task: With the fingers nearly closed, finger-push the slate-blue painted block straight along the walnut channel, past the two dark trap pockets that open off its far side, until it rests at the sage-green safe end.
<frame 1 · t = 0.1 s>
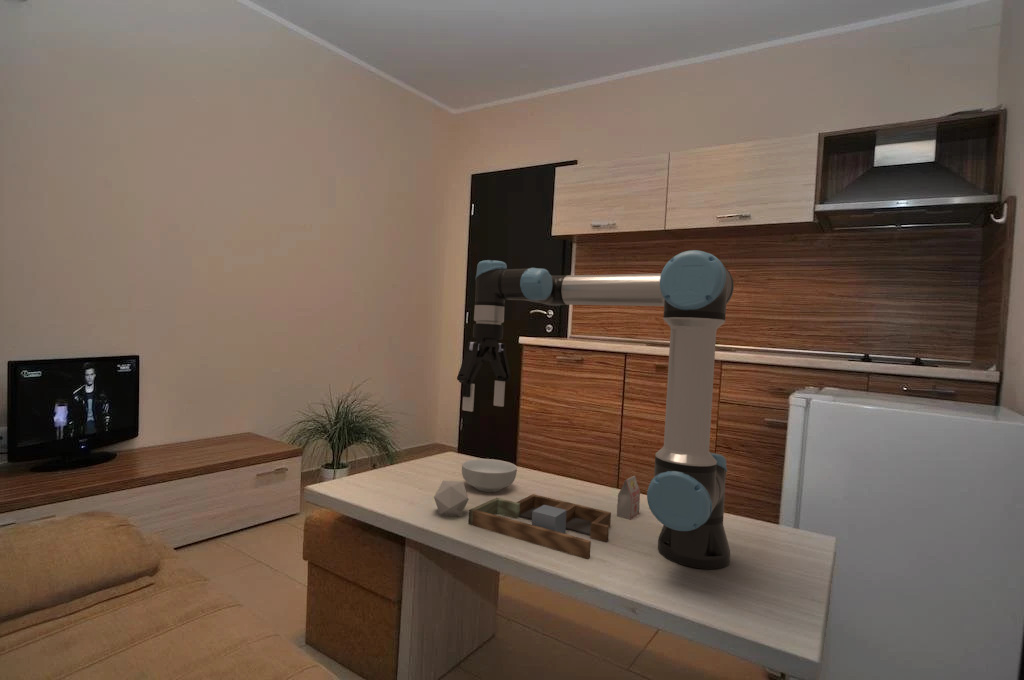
hand: (483, 408, 126), 28 cm above the table, fingers open, 13 cm apart
die: (450, 514, 130), on the table
wooden compartment tray: (538, 532, 120), on the table
gable top carton: (628, 515, 136), on the table
slate block: (548, 536, 119), resting in wooden compartment tray
cereal bowl: (488, 488, 154), on the table
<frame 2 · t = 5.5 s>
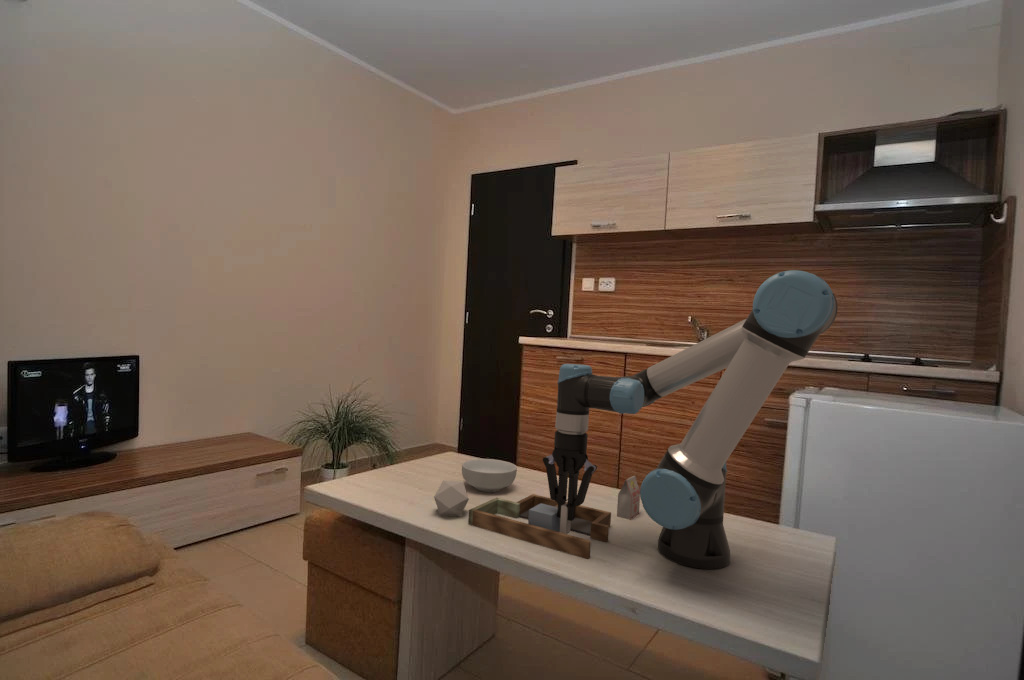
hand: (564, 532, 117), 2 cm above the table, fingers closed
slate block: (544, 534, 119), resting in wooden compartment tray, touching gripper
everything else where it was.
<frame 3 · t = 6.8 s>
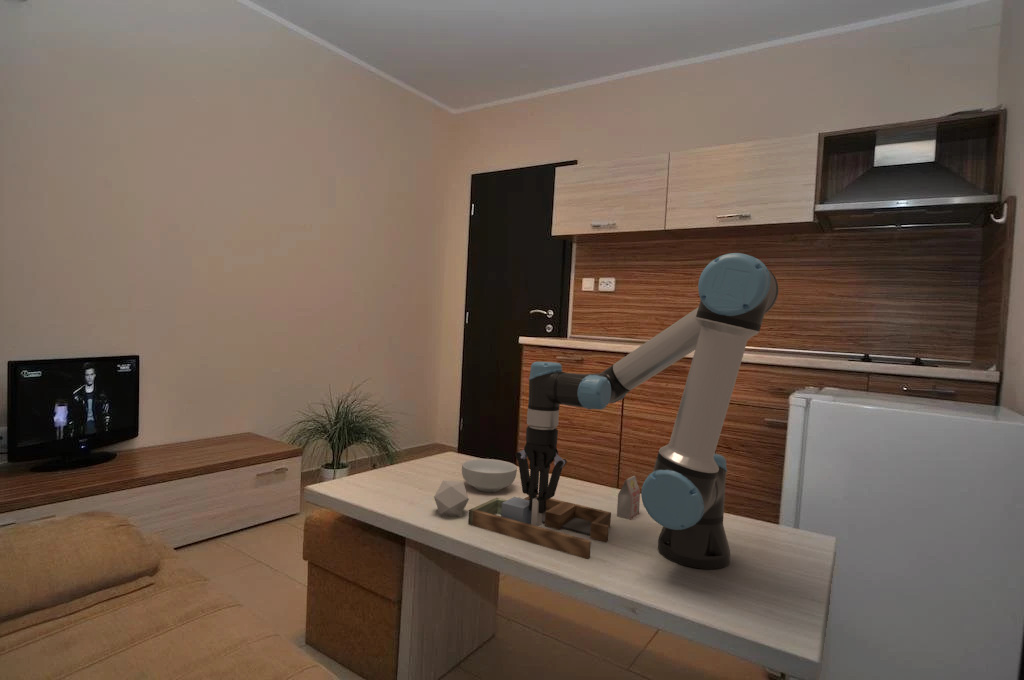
hand: (536, 525, 120), 2 cm above the table, fingers closed
slate block: (517, 526, 123), resting in wooden compartment tray, touching gripper
everything else where it was.
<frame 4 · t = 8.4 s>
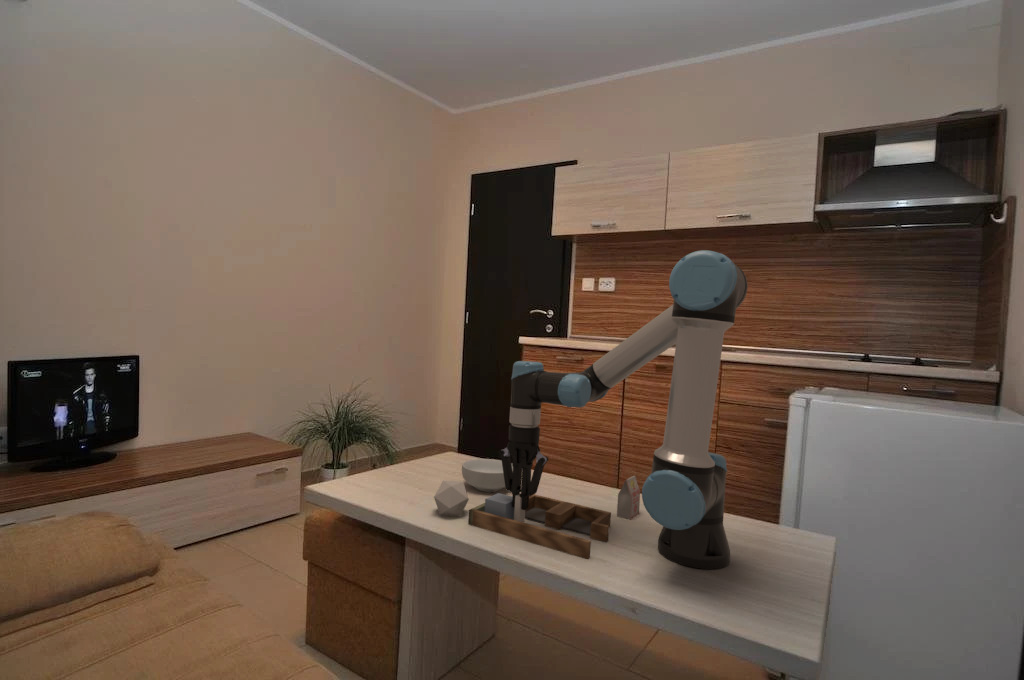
hand: (519, 521, 123), 1 cm above the table, fingers closed
slate block: (500, 522, 125), resting in wooden compartment tray, touching gripper
everything else where it was.
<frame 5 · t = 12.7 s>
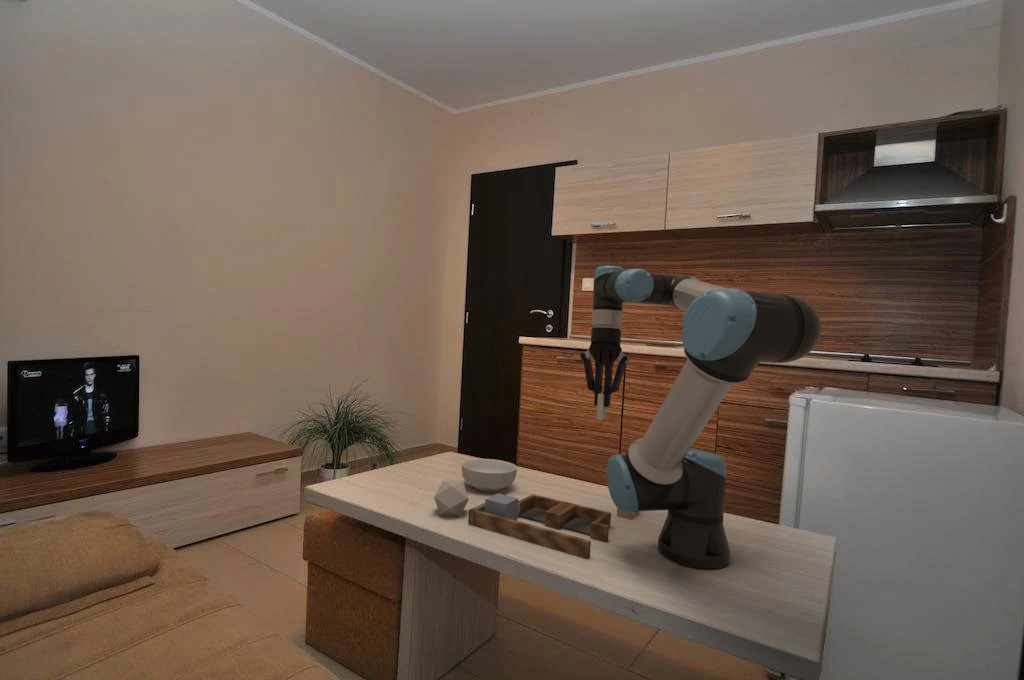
hand: (601, 419, 129), 26 cm above the table, fingers closed
slate block: (500, 522, 125), resting in wooden compartment tray
everything else where it was.
at the end: slate block inside the target area on the wooden compartment tray (0.3 cm from its centre), point 0.0 cm above the wooden compartment tray's base; slate block tilted 0° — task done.
